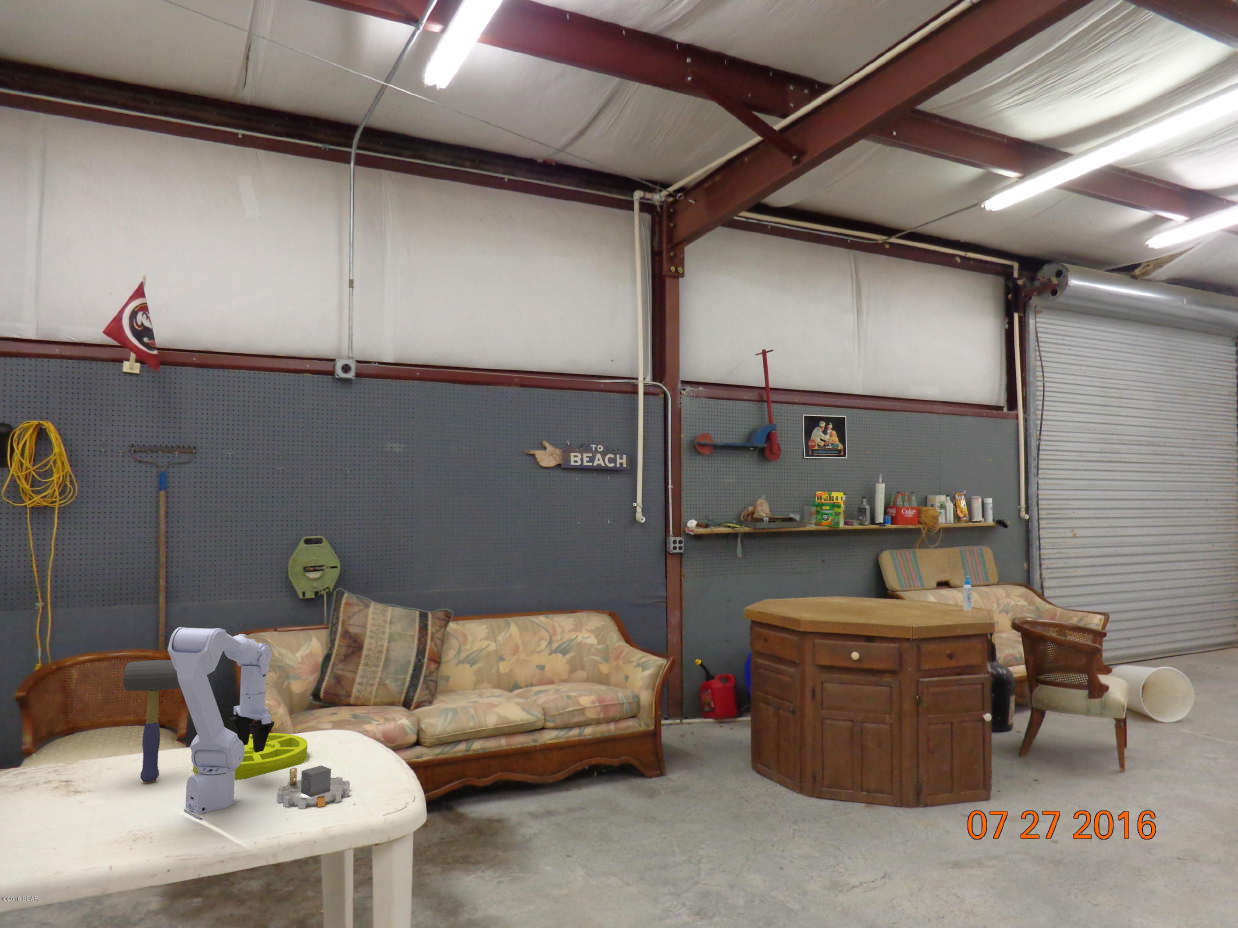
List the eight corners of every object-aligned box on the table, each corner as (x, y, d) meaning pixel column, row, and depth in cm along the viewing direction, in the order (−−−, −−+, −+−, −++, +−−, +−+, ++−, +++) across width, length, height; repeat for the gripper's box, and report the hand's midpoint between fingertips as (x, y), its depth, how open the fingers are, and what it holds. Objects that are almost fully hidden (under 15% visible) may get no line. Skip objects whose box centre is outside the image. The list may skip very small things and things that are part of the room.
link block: (310, 796, 184) (311, 774, 184) (300, 792, 186) (301, 770, 187) (330, 790, 188) (330, 768, 188) (320, 786, 190) (321, 765, 191)
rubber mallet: (180, 775, 207) (185, 656, 208) (173, 785, 199) (178, 661, 201) (125, 779, 203) (130, 658, 204) (116, 789, 196) (122, 664, 197)
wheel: (337, 808, 183) (338, 783, 183) (265, 808, 182) (266, 783, 182) (357, 783, 199) (358, 761, 199) (291, 783, 198) (292, 760, 198)
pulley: (180, 760, 219) (181, 742, 219) (285, 741, 237) (286, 724, 237) (210, 789, 198) (211, 768, 198) (322, 766, 216) (323, 747, 217)
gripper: (284, 693, 199) (282, 750, 198) (253, 685, 207) (251, 738, 207) (256, 699, 193) (254, 757, 192) (226, 689, 202) (224, 745, 201)
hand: (251, 748), depth 199 cm, fingers open, 7 cm apart
